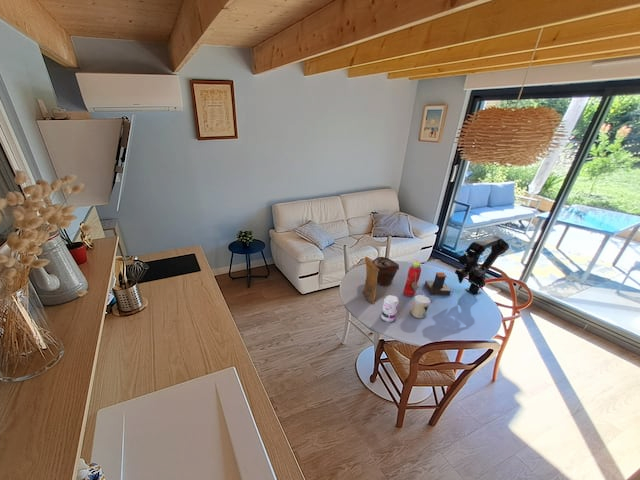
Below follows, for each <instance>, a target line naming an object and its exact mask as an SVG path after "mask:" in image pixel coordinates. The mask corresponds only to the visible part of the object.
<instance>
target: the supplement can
mask: <svg viewBox="0 0 640 480" xmlns="http://www.w3.org/2000/svg"><path fill="white" fill-rule="evenodd" d="M399 304H400V301H399V298H398V297H397V296H396V295H392V294H388V295H386V296H385V298H384V300H383V303H382V309H381V314H380V317H381V319H382V320H383V321H384V322H389V323H391V322H394V321H395V320H396V315H397V312H398V308H399Z"/></svg>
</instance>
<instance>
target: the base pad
mask: <svg viewBox="0 0 640 480" xmlns="http://www.w3.org/2000/svg"><path fill="white" fill-rule="evenodd" d="M433 283H434V280H425V282H424V287H425V289H426V290H427V291H428V293H429V294H430V295H431V296H450V295H451V292H452V290H451V289H450V287H449V286H448V285H447V283H446V282H445V281H444V284H443V287H442V288H435V286H434V285H433Z"/></svg>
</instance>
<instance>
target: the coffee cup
mask: <svg viewBox="0 0 640 480" xmlns="http://www.w3.org/2000/svg"><path fill="white" fill-rule="evenodd" d="M430 304H431V298H429V297H427V295H424V294H417V295H414V296H413V302H412V306H411V311H410V312H411V316H413V317H414V318H416V319H424V317H425V316H426V314H427V311H428V309H429V306H430Z"/></svg>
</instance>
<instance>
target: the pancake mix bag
mask: <svg viewBox="0 0 640 480" xmlns="http://www.w3.org/2000/svg"><path fill="white" fill-rule="evenodd" d="M364 262H365V271H366V274H365V283H364V289H363V295H364V297H365V298H366V300H367V302H369V303H371V304H374V302H375V301H376V292H377V291H376V290H377V283H376V282H377V275H378V270H379V269H378V268H377V266H376V265H375V264H374V263H373V260H370V258H369V257H368V256H367V255H366V256H365V257H364Z"/></svg>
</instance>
